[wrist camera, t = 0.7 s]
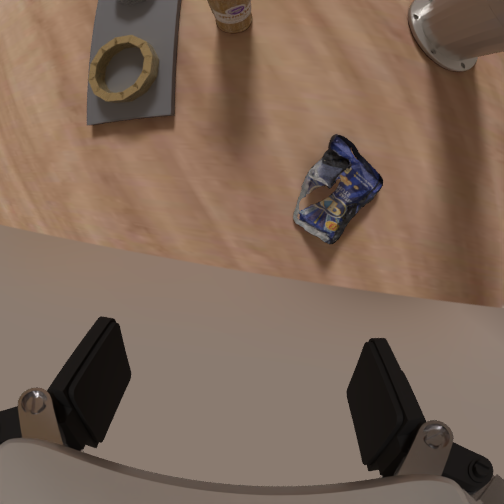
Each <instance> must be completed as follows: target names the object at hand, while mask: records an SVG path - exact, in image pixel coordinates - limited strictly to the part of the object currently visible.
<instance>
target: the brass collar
mask: <svg viewBox="0 0 504 504" xmlns="http://www.w3.org/2000/svg"><path fill="white" fill-rule="evenodd" d="M134 47H137V48H139V49H140V50H141V52H142V54H143V56H144V63H143V70H142V73H141V74H140V76H139V77H138V79H137V80H136V82H135V83H134V84H133V85H132V86H130V87H129V88H127V89H126V90H124V91H123V92H117V93H114V92H112V91H110V90H109V89H108V87H107V84H106V82H105V72H106V67H107V65H108V64H109V62H110V61H111V59H112V57H113V56H114V55H116V54H117V53H119V52H120V51H122V50H123V49H126V48H134ZM158 67H159V58H158V56H157V54H156V52H155V50H154V48H153V46H152V45H150V44H149V43H148V42H146V41H145V40H142V39H140V38H138V37H136V36H133V35H127V36H121V37H115V38H114V39H112V40H111V41H109V42H108V43H107V44H105V45H104V46H102V47H101V48H100V49H99V51H98V52H97V54H96V55H95V57H94V59H93V60H92V62H91V64H90V71H89V78H88V81H89V83H90V86H91V88H92V91H93V93H94V94H95V95H96V96H98V97H100V98H102V99H103V100H105V101H107V102H113V103H121V102H132V101H134V100H135V99H137V98H138V97H140V96H141V95H143V94H145V93H146V92H147V91H148V90H149V88H150V87H151V85H152V84H153V82H154V81H155V79H156V78H157V75H158Z"/></svg>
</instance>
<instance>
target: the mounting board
mask: <svg viewBox="0 0 504 504" xmlns="http://www.w3.org/2000/svg"><path fill="white" fill-rule="evenodd" d="M180 6H181V0H146V1H143V2H141V3H138V4H135V5H133V6H128V5H125V4H122V3H119V2H118V1H116V0H98V5H97V10H96V16H95V22H94V28H93V36H92V43H91V52H90V62H89V71H90V64H91V62H92V60H93V59H94V57H95V55H96V54H97V52H98V51H99V49H100V48H101V47H102V46H104V45H105V44H107V43H108V42H109V41H111V40H112V39H114V38H115V37H121V36H127V35H133V36H136V37H138V38H140V39H142V40H145V41H146V42H148V43H149V44H150V45H152V46H153V48H154V50H155V52H156V54H157V56H158V58H159V67H158V75H157V78H156V79H155V81H154V82H153V84H152V85H151V87H150V88H149V90H148V91H147V92H146V93H145V94H143V95H141V96H140V97H138V98H137V99H135V100H134V101H132V102H121V103H113V102H107V101H105V100H103V99H102V98H100V97H98V96H96V95H95V94H94V93H93V91H92V88H91V86H90V83H89V81H88V92H87V125H96V124H103V123H109V122H116V121H123V120H131V119H140V118H149V117H160V116H172V115H174V111H175V77H176V56H177V41H178V28H179V16H180ZM143 63H144V56H143V54H142V52H141V50H140V49H139V48H137V47H134V48H126V49H123V50H122V51H120V52H119V53H117V54H116V55H114V56H113V57H112V59H111V61H110V62H109V64H108V65H107V67H106V72H105V82H106V84H107V87H108V89H109V90H110V91H112V92H114V93H117V92H123V91H124V90H126V89H127V88H129V87H130V86H132V85H133V84H134V83H135V82H136V80H137V79H138V77H139V76H140V74H141V73H142V70H143ZM88 78H89V75H88Z"/></svg>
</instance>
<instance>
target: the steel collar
mask: <svg viewBox="0 0 504 504" xmlns="http://www.w3.org/2000/svg"><path fill="white" fill-rule="evenodd" d="M116 1H118V2H119V3H122V4H125V5H128V6H133V5H135V4H138V3H141V2H143V1H146V0H116Z"/></svg>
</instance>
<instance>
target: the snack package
mask: <svg viewBox="0 0 504 504" xmlns="http://www.w3.org/2000/svg"><path fill="white" fill-rule="evenodd" d="M348 145H349V146H348ZM350 147H351V148H352V151H353V154H354V155H355V156H356V157H357V159H358V160H356V158H355V157H354V155H353V154H352V152H351V150H350ZM328 148H329V149H328V150H327V151H326V152H325V153H324V156H323V157H322V159H321V160H319V161H318V162H317V163H316V164H315V165H314V166H313V167H312V168H311V169H310V171H309V172H308V174H307V176H306V177H305V180H304V182H303V185H302V190H301V193H300V196H299V198H298V201H297V206H296V209H295V211H294V216H293V219H294V221H295V223H296V224H299V225H300V226H302V227H304V229H305V231H306V230H307V231H308V232H309V233H311V234H312V235H315V236H317V237H318V238H320V239H321V240H322V241H324V242H326V243H328V244H333V243H335V242H336V241H337V240H338V239H339V238H340V236H341V235H342V233H343V232H344V229H345V227H346V226H347V224H348V223H349V221H350V220H351V219H352V218H353V217H354V216H355V215H356V213H358V211H359V210H360V209H361V207H364V206H365V204H367V203H369V202H370V201H371V200H373V198H374V196H375V195H376V194H377V192H378V191H379V190H380V189H381V188H382V186H383V179H382V177H381V176H380V174H379V173H378V172H377V171H376V170H375V169H374V168H373V167H372V166H371V165H370V164H369V163H368V162H367V161H366V160H365V159H364V158H363V157H362V156H361V155H360V154H359V152H358V150H357V148H356V147H355V145H354V144H353V143H352V142H351V141H349V140H348V139H347V138H345V137H343V136H341V135H337V134H335V135H333V136H332V138H331V140H330V142H329V146H328ZM337 179H341V182H340V183H339V185H338V187H337V189H336V191H335V192H333V193H332V194H331V195H330V196H329V197H328V198H326V199H324V200H322V201H320V202H318V203H316V204H313V205H310V206H309V207H307V208H305V209H304V210H301V211H299V202H300V200H301V199H302V198H303V197H306V194H310V193H311V192H312V191H313V190H314V189H316V188H318V187H321V186H324V187H325V185H326V186H327V187H328V188H329V189H330V188H331V187H332V186H333V184H334V183H336V180H337ZM298 213H299V214H300V220H298V218H297V214H298Z"/></svg>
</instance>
